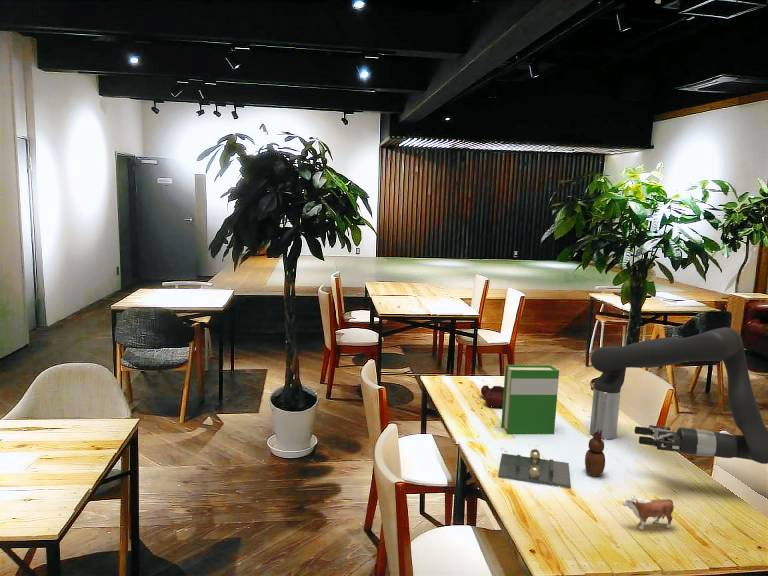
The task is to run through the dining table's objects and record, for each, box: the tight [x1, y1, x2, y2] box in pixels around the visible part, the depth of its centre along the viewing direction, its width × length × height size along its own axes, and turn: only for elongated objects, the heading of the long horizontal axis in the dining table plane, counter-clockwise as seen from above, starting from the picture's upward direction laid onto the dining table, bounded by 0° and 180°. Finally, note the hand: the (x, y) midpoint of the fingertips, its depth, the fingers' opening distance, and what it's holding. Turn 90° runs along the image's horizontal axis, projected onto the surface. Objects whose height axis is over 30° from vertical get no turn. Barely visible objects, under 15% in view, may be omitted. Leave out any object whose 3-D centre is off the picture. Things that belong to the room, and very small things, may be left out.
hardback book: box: [500, 364, 560, 435], centre depth 212 cm, size 18×7×24 cm, turn 96°
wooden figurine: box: [584, 429, 606, 477], centre depth 178 cm, size 7×6×15 cm
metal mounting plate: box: [497, 448, 572, 489], centre depth 179 cm, size 16×21×4 cm
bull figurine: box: [622, 495, 675, 531], centre depth 149 cm, size 4×13×8 cm, turn 95°
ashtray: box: [480, 384, 504, 408], centre depth 244 cm, size 18×16×5 cm
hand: (636, 434), depth 174 cm, fingers open, 8 cm apart
